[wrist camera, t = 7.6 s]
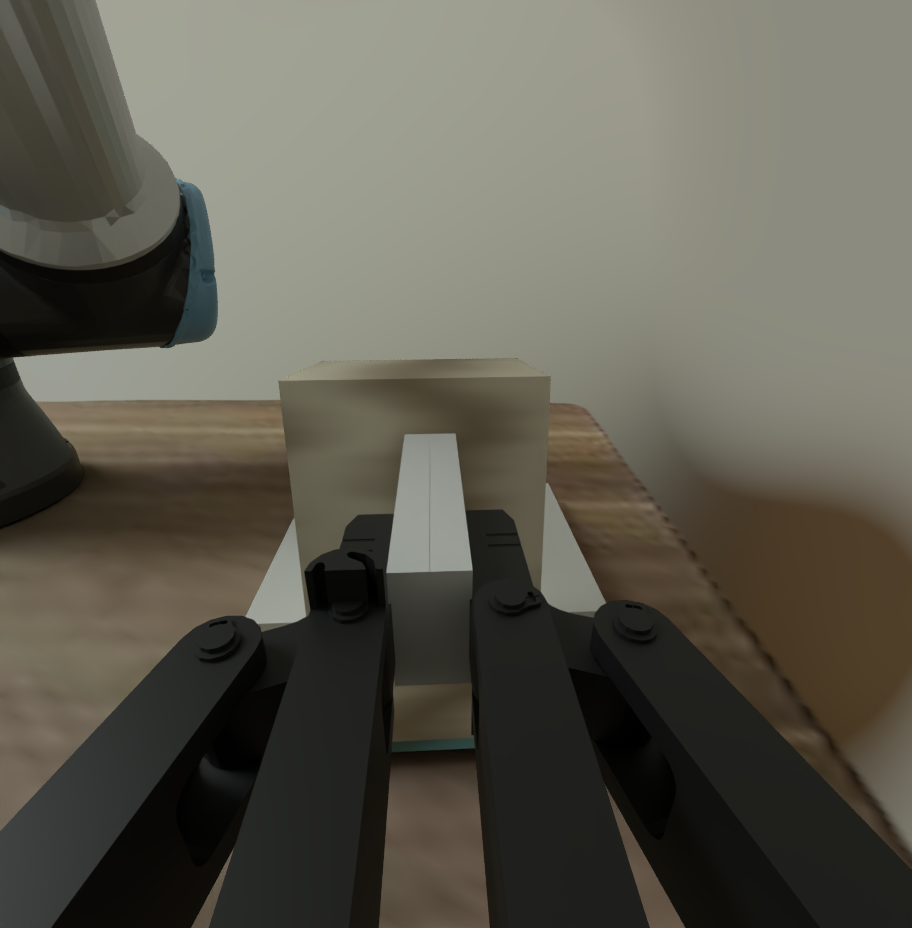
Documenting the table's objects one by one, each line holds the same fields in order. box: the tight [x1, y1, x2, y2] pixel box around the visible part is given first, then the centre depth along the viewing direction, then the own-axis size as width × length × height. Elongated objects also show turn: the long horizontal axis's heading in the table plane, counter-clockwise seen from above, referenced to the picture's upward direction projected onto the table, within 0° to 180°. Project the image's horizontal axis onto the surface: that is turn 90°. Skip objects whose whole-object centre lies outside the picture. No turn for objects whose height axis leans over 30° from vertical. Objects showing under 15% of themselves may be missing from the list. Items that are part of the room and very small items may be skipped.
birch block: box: [278, 358, 551, 752], centre depth 19 cm, size 8×6×14 cm
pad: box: [246, 483, 606, 632], centre depth 31 cm, size 18×14×2 cm
